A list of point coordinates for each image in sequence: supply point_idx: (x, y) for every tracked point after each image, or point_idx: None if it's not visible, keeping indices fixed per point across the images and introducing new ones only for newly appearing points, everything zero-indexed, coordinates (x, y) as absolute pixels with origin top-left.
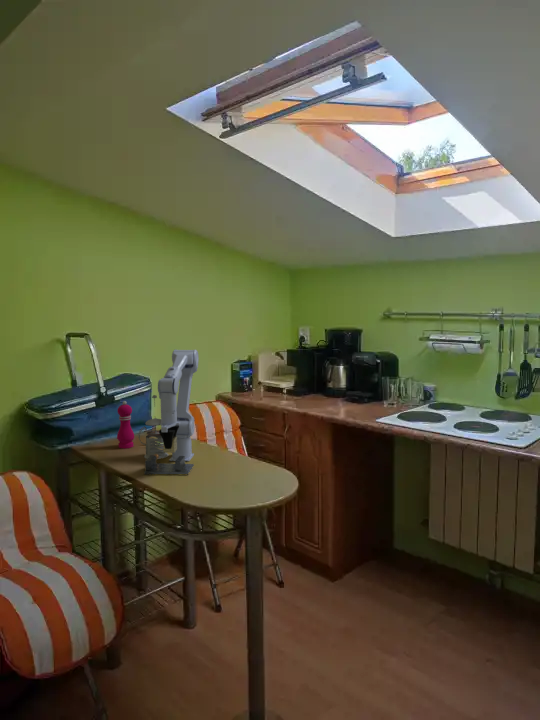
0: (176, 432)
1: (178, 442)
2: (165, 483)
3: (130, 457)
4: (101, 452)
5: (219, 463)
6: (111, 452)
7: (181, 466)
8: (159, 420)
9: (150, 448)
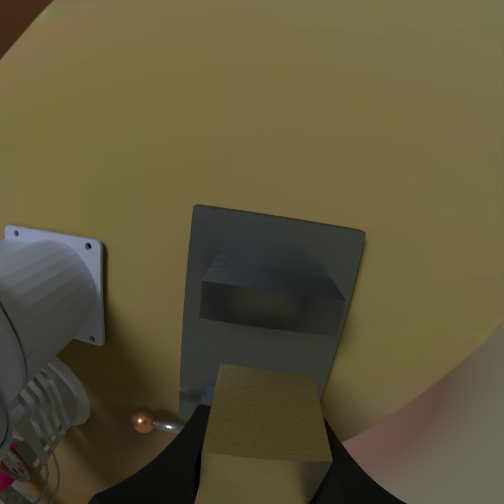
0: (168, 481)
1: (40, 348)
2: (446, 325)
3: (88, 458)
4: (70, 496)
5: (151, 57)
6: (62, 482)
7: (310, 281)
8: None
9: (62, 436)
